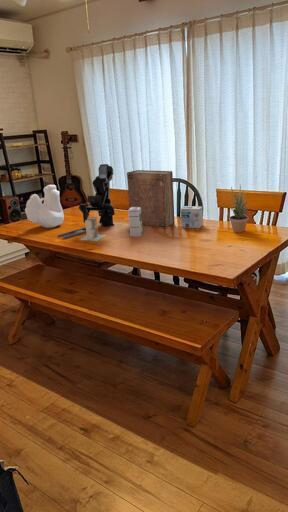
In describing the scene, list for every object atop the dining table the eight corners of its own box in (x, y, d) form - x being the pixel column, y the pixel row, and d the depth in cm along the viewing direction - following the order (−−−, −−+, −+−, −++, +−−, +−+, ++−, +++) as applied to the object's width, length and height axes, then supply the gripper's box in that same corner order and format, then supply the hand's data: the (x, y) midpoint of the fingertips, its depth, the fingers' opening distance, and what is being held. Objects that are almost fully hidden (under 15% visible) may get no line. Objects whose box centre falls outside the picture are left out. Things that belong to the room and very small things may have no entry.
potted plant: (227, 232, 210) (227, 184, 202) (232, 227, 217) (232, 181, 210) (246, 234, 205) (247, 184, 197) (251, 229, 213) (252, 181, 205)
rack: (85, 230, 233) (84, 227, 233) (92, 231, 228) (91, 229, 228) (57, 237, 222) (57, 234, 221) (64, 239, 217) (64, 236, 216)
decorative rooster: (58, 221, 259) (52, 182, 251) (70, 225, 247) (65, 184, 239) (20, 229, 244) (13, 188, 236) (32, 234, 232) (25, 190, 225)
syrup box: (140, 236, 213) (139, 209, 209) (129, 236, 215) (127, 209, 210) (143, 233, 219) (141, 206, 214) (132, 233, 220) (130, 207, 215)
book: (175, 224, 233) (172, 171, 223) (165, 228, 226) (162, 173, 216) (140, 220, 248) (137, 170, 238) (130, 223, 241) (126, 172, 232)
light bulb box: (180, 227, 225) (180, 208, 222) (184, 224, 231) (183, 205, 228) (199, 228, 221) (199, 208, 218) (202, 225, 227) (202, 206, 224)
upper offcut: (81, 231, 229) (80, 229, 229) (84, 232, 227) (84, 230, 227) (74, 233, 226) (74, 231, 226) (78, 234, 224) (78, 232, 224)
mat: (88, 234, 223) (88, 234, 223) (106, 235, 219) (106, 235, 219) (78, 240, 213) (78, 239, 213) (97, 241, 209) (96, 240, 209)
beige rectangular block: (93, 235, 220) (91, 217, 217) (98, 235, 219) (96, 217, 215) (87, 239, 214) (84, 220, 210) (92, 239, 212) (90, 220, 209)
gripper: (78, 189, 217) (69, 214, 211) (109, 189, 210) (101, 215, 204) (87, 200, 226) (79, 225, 220) (117, 201, 219) (110, 226, 213)
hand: (91, 222), depth 214 cm, fingers open, 9 cm apart
